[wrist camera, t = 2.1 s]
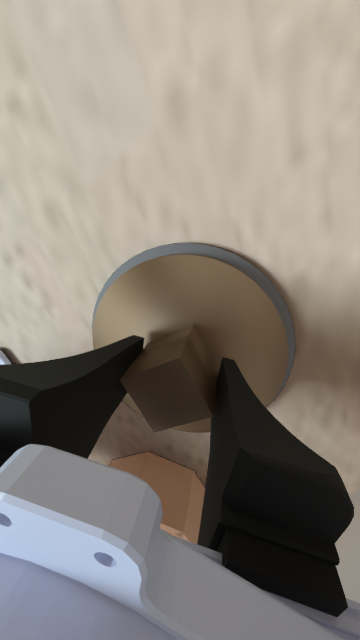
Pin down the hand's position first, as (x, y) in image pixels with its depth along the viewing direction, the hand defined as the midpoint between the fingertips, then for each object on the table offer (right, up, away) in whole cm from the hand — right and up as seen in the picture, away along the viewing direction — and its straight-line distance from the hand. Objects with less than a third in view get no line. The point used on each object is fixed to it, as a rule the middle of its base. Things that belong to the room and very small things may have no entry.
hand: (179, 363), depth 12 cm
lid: (0, +1, +1) cm, 2 cm away
